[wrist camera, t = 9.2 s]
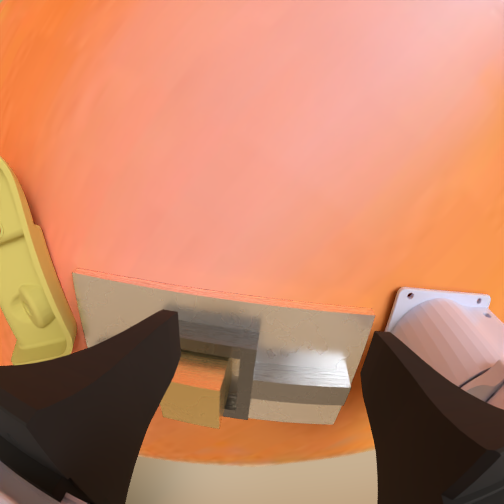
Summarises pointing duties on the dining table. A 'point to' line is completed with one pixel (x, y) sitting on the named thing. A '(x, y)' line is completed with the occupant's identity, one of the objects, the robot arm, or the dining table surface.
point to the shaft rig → (243, 341)
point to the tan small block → (198, 389)
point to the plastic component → (30, 281)
